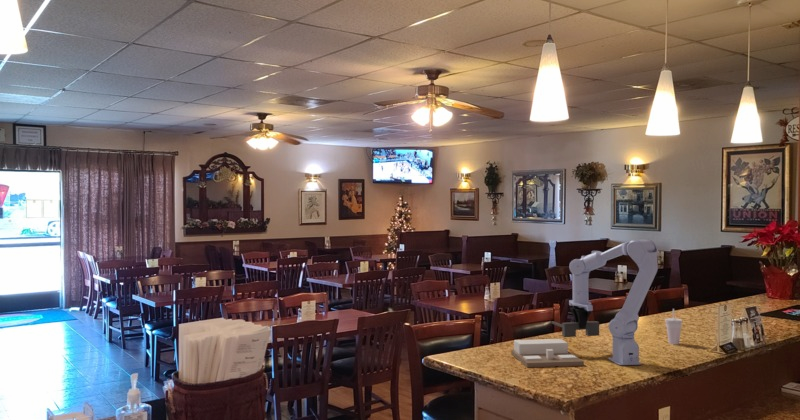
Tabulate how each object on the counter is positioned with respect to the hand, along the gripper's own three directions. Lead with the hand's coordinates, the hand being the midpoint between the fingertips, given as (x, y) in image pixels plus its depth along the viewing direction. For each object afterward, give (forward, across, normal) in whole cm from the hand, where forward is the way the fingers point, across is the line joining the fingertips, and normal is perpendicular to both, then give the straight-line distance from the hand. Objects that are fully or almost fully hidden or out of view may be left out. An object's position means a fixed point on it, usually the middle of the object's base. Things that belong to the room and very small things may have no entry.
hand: (580, 327), depth 225 cm
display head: (+10, -6, +17) cm, 20 cm away
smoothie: (+10, +7, -44) cm, 45 cm away
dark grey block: (+3, +4, 0) cm, 5 cm away
